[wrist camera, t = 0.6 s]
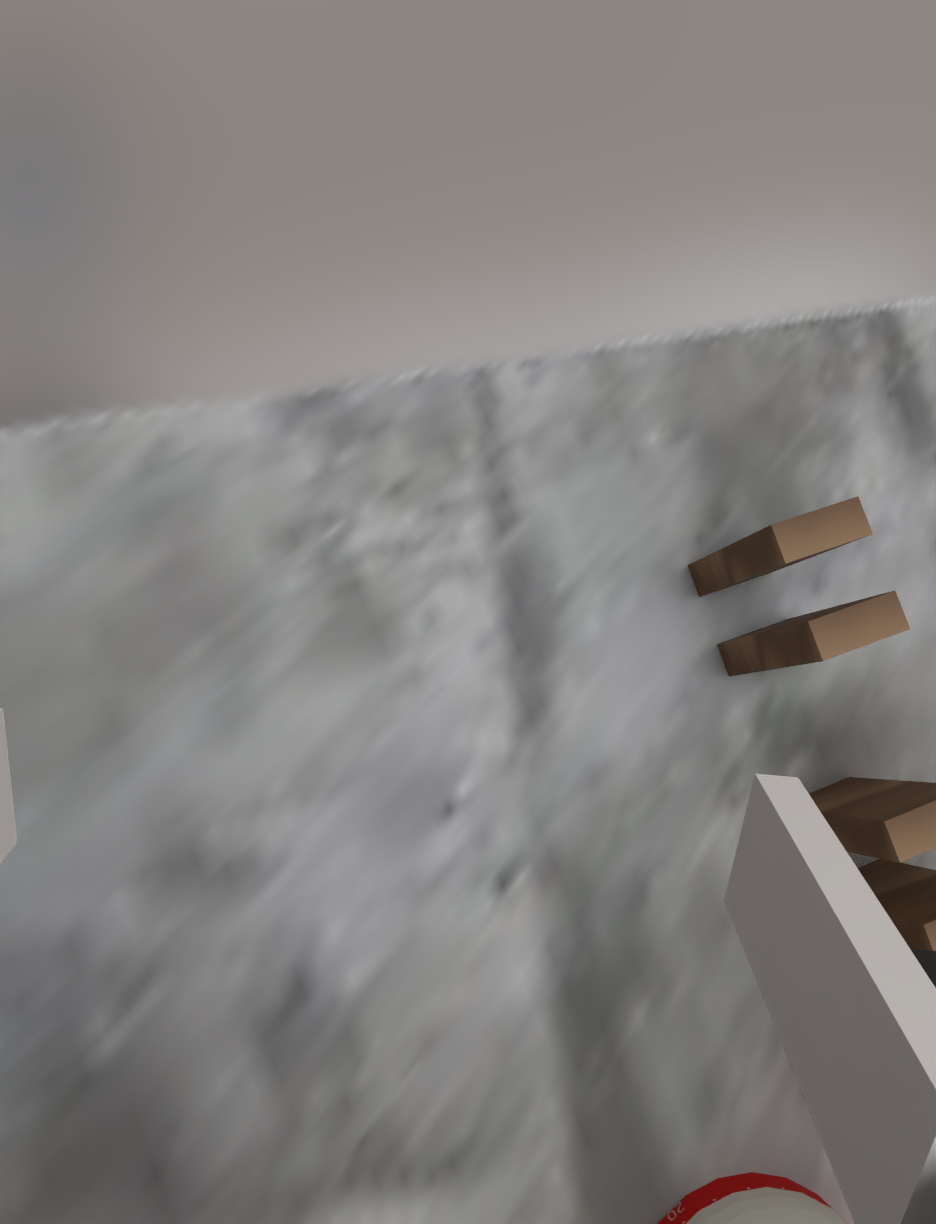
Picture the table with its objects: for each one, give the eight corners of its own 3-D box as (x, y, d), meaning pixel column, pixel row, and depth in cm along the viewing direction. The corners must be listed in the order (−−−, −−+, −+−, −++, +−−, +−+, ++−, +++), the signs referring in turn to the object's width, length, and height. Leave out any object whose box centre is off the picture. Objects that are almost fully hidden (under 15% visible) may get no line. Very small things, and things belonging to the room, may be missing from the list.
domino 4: (893, 891, 51) (1026, 926, 41) (820, 923, 50) (939, 967, 40) (880, 858, 51) (1010, 885, 42) (807, 889, 50) (923, 925, 41)
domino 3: (862, 809, 52) (987, 825, 42) (789, 839, 51) (899, 862, 41) (849, 777, 52) (971, 785, 42) (777, 806, 51) (884, 821, 41)
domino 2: (801, 650, 52) (910, 628, 43) (729, 676, 51) (822, 660, 42) (789, 618, 53) (895, 590, 43) (717, 644, 52) (807, 621, 42)
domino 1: (771, 572, 53) (872, 534, 43) (699, 596, 52) (785, 563, 42) (760, 541, 53) (858, 496, 43) (687, 565, 52) (771, 524, 42)
